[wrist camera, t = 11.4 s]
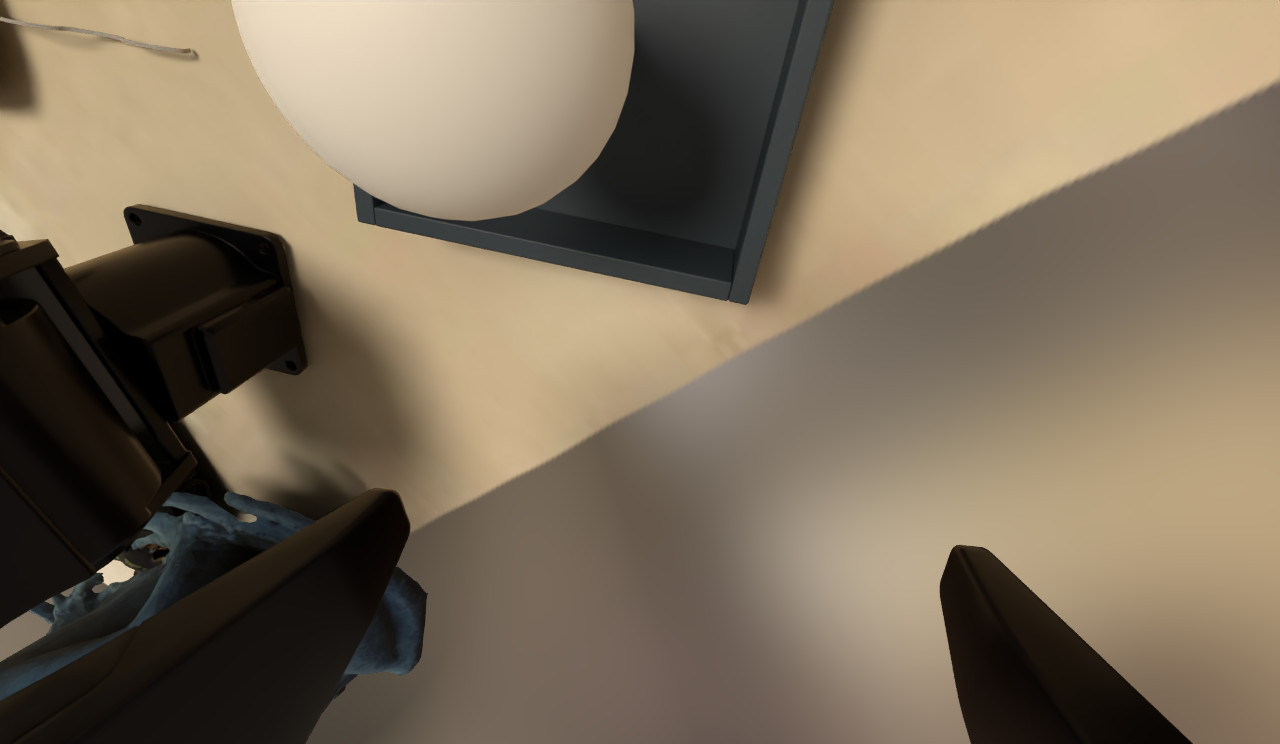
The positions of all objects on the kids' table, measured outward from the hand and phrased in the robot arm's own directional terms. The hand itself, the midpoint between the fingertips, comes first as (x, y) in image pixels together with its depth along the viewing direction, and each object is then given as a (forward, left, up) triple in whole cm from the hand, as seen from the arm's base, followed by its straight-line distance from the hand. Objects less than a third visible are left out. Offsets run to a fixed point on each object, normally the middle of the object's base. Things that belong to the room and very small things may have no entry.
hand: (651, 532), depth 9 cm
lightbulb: (-5, +6, -12) cm, 14 cm away
